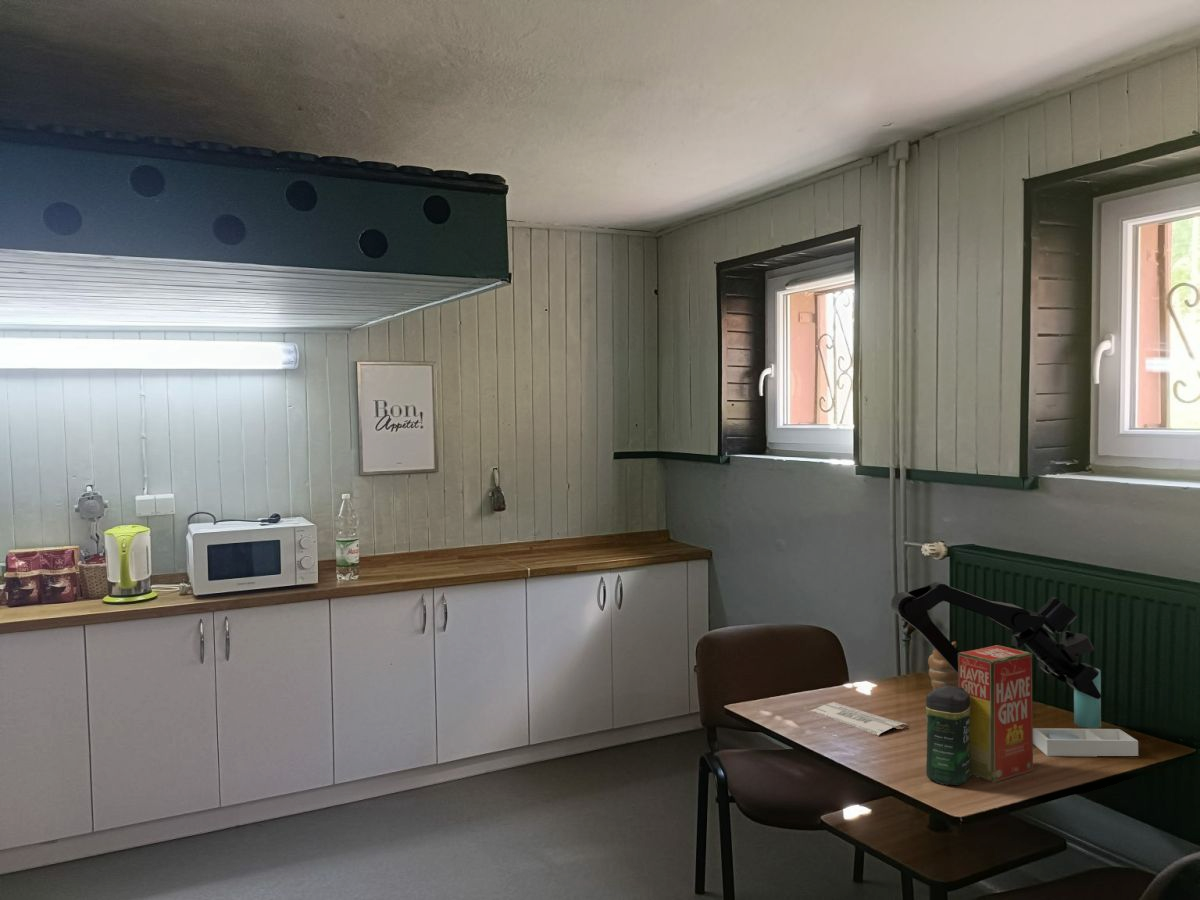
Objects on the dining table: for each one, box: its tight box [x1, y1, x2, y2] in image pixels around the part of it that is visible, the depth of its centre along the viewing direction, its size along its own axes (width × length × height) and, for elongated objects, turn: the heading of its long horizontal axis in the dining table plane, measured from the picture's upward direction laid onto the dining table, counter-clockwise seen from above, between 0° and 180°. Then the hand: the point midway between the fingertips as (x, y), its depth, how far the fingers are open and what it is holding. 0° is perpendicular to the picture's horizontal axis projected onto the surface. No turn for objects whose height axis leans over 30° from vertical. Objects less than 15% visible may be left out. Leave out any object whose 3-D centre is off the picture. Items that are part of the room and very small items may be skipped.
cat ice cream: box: [927, 640, 958, 690], centre depth 226 cm, size 9×8×18 cm
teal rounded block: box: [1073, 667, 1102, 729], centre depth 206 cm, size 6×6×13 cm
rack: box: [1033, 727, 1139, 757], centre depth 195 cm, size 19×8×4 cm, turn 85°
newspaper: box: [810, 701, 907, 736], centre depth 220 cm, size 23×12×2 cm, turn 34°
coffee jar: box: [925, 685, 972, 786], centre depth 181 cm, size 10×8×19 cm
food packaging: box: [958, 644, 1034, 783], centre depth 185 cm, size 13×9×25 cm
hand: (1093, 694), depth 206 cm, fingers closed on teal rounded block, 5 cm apart
